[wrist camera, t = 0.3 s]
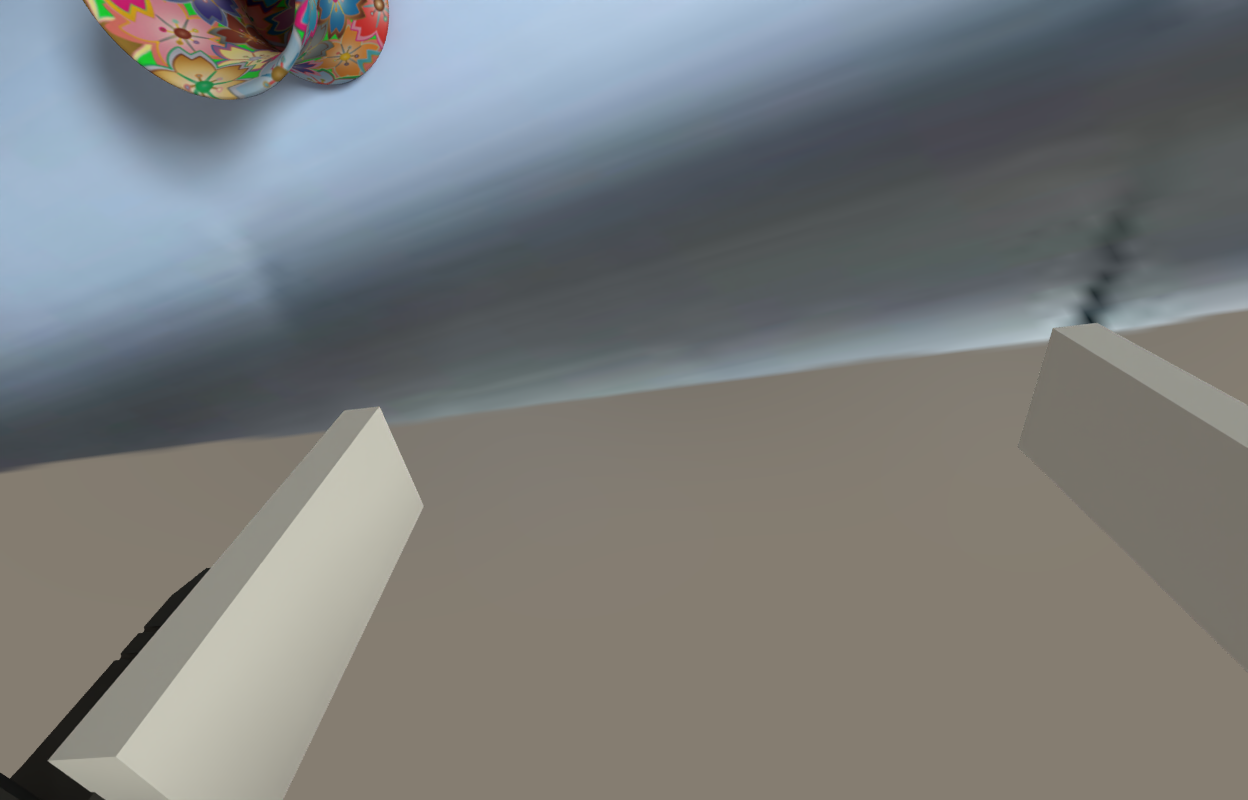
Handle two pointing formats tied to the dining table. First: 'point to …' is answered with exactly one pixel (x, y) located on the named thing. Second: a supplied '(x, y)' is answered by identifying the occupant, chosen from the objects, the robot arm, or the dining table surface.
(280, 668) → the robot arm
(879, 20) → the dining table surface
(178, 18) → the mug
